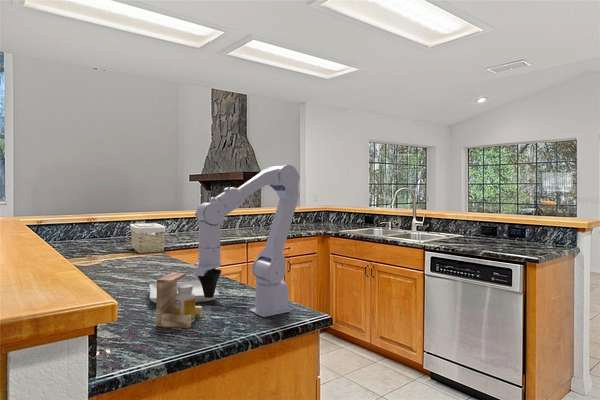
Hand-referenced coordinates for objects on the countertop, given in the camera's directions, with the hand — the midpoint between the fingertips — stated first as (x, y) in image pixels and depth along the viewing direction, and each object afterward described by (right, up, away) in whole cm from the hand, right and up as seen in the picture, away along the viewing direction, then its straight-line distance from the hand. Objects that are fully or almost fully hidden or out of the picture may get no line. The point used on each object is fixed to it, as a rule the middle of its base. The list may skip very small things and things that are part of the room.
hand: (209, 297), depth 110 cm
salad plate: (-15, -7, +26) cm, 31 cm away
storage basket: (-65, -3, +128) cm, 143 cm away
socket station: (-8, -7, +1) cm, 10 cm away
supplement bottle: (-7, -7, +1) cm, 10 cm away
